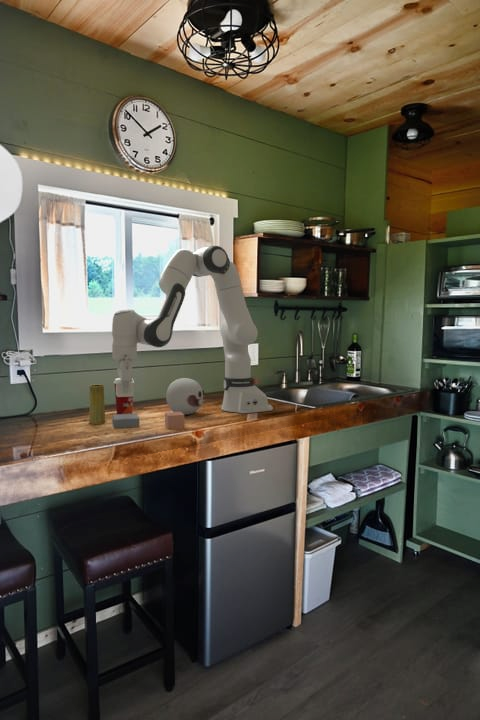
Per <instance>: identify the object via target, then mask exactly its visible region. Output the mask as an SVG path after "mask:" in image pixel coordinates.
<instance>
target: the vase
mask: <svg viewBox="0 0 480 720" xmlns="http://www.w3.org/2000/svg"><path fill="white" fill-rule="evenodd" d="M104 392H105V385H104V384H101V383H100V384H99V383H98V384H97V383H96V384H91V385H89V414H88V415H89V420H88V423H89V424H90V425H100V424H105V423H106V422H107V421H106V409H105V408H106V407H105V393H104Z"/></svg>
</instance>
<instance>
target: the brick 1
mask: <svg viewBox="0 0 480 720" xmlns="http://www.w3.org/2000/svg"><path fill="white" fill-rule="evenodd" d="M134 395H135V382H134V383H133V381H132V382H129V388H128V393H124V392H123V382H122V381H116V396H117V397H132V396H133V397H135V396H134Z"/></svg>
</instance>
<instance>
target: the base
mask: <svg viewBox="0 0 480 720" xmlns="http://www.w3.org/2000/svg"><path fill="white" fill-rule="evenodd" d="M111 415H112V416H111V417H112V424H113V428H114V429H117V428H118V429H119V428H134V427H138V428H139V427H140V417H139V416H138V414H137V413H132V414H117V413H116V414H111Z"/></svg>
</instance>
